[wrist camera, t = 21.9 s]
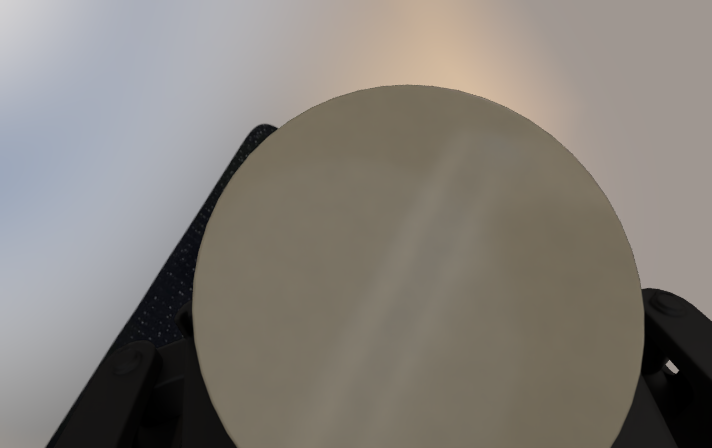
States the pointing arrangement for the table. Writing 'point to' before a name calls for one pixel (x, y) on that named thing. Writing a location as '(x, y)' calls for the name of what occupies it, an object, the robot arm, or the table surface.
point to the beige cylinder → (416, 284)
